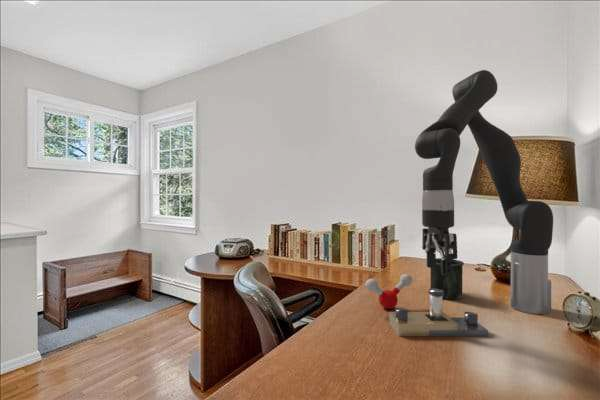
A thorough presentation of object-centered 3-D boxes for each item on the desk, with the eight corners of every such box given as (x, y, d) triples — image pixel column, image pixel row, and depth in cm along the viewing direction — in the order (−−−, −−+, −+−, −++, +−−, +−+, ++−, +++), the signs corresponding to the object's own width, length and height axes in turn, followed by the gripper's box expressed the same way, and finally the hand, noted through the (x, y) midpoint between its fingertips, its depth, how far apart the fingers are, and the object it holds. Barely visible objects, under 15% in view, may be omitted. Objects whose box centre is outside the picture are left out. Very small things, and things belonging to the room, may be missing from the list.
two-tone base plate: (470, 323, 84) (470, 304, 84) (488, 336, 76) (488, 315, 76) (389, 322, 84) (389, 304, 84) (398, 335, 76) (398, 315, 76)
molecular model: (376, 317, 87) (376, 282, 87) (361, 311, 92) (361, 278, 92) (414, 305, 97) (414, 274, 97) (399, 300, 102) (399, 270, 102)
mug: (423, 295, 108) (423, 260, 108) (442, 287, 118) (442, 256, 118) (455, 303, 100) (455, 266, 100) (472, 294, 110) (473, 260, 109)
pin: (426, 326, 82) (426, 288, 82) (439, 326, 82) (439, 288, 82) (431, 332, 78) (432, 292, 78) (446, 332, 78) (446, 292, 78)
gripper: (412, 207, 86) (413, 265, 86) (435, 209, 72) (436, 278, 72) (439, 207, 86) (440, 265, 87) (467, 208, 72) (468, 278, 72)
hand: (438, 271), depth 79 cm, fingers open, 8 cm apart
